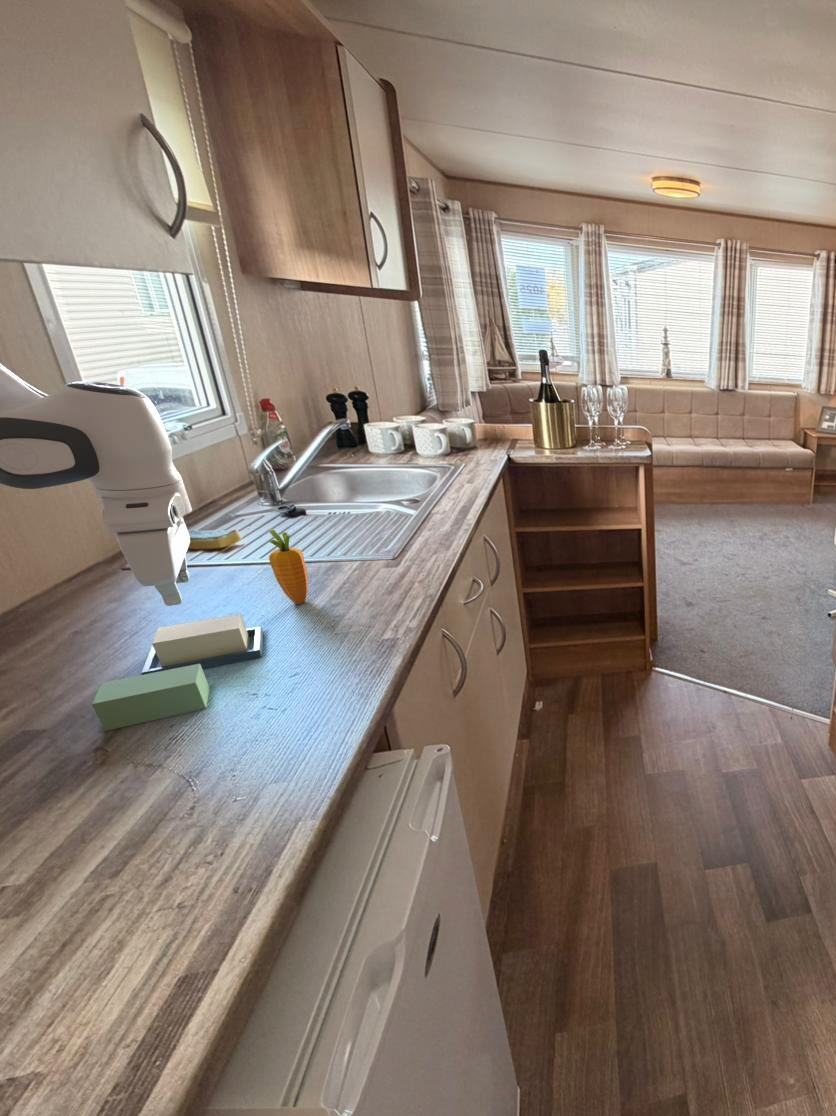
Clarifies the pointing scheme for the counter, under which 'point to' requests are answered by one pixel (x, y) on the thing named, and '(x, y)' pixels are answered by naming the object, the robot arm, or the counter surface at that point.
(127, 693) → the sage pad
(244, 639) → the cream pad
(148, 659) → the pad tray
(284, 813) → the counter surface
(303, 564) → the carrot
